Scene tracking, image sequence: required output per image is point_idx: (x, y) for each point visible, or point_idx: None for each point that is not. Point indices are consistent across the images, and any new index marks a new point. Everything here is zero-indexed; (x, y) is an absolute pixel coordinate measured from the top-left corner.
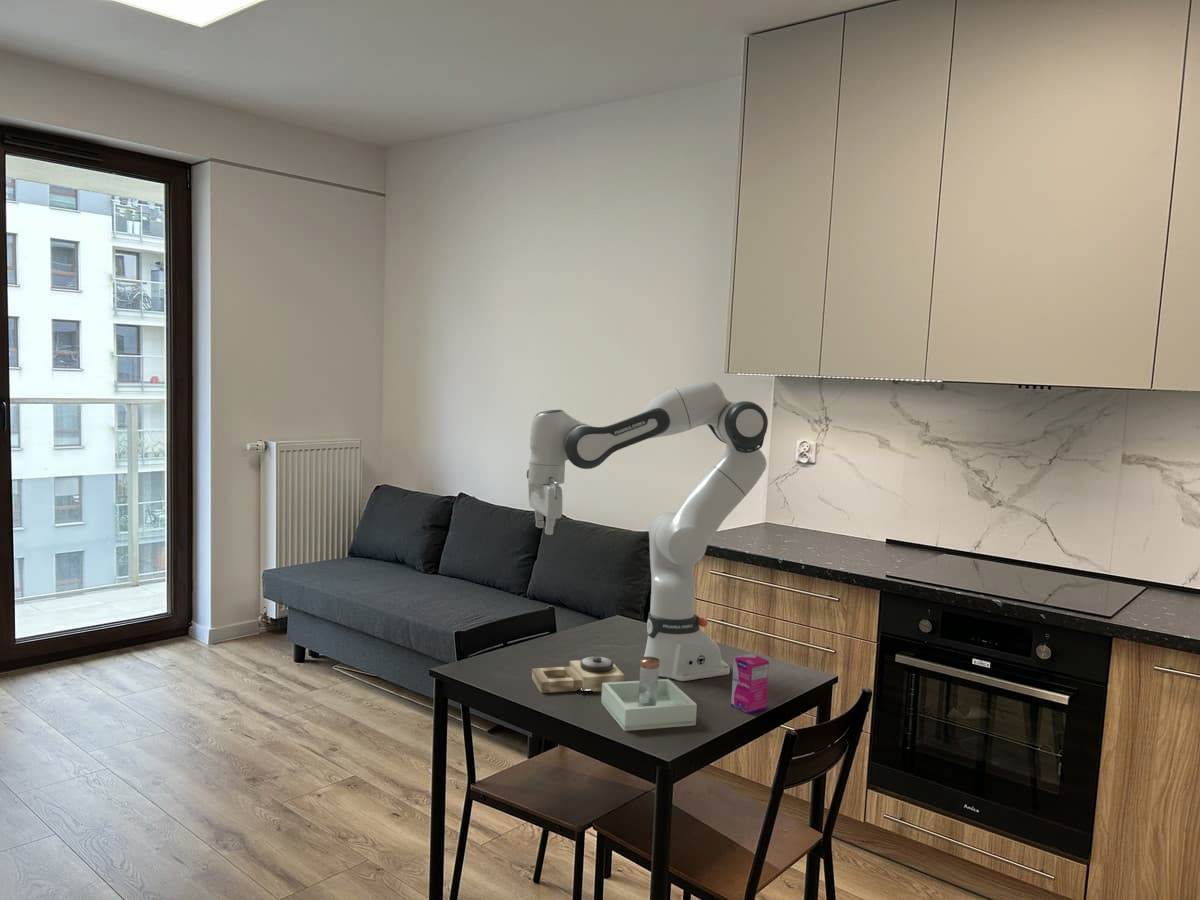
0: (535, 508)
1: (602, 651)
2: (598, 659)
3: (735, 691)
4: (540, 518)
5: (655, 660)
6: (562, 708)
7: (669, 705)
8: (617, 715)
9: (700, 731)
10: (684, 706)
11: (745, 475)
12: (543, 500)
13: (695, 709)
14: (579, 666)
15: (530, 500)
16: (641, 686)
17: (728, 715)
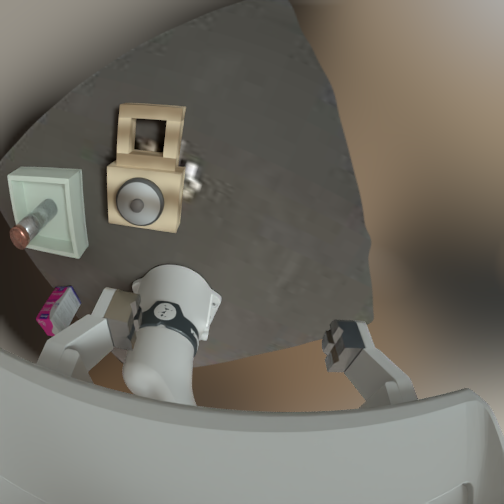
0: (348, 420)
1: (268, 254)
2: (130, 206)
3: (61, 296)
4: (359, 372)
5: (17, 243)
6: (74, 117)
7: (16, 221)
8: (32, 169)
9: None
10: None
11: None
12: (29, 484)
13: None
14: (151, 178)
15: (474, 420)
16: (30, 212)
17: (52, 271)
